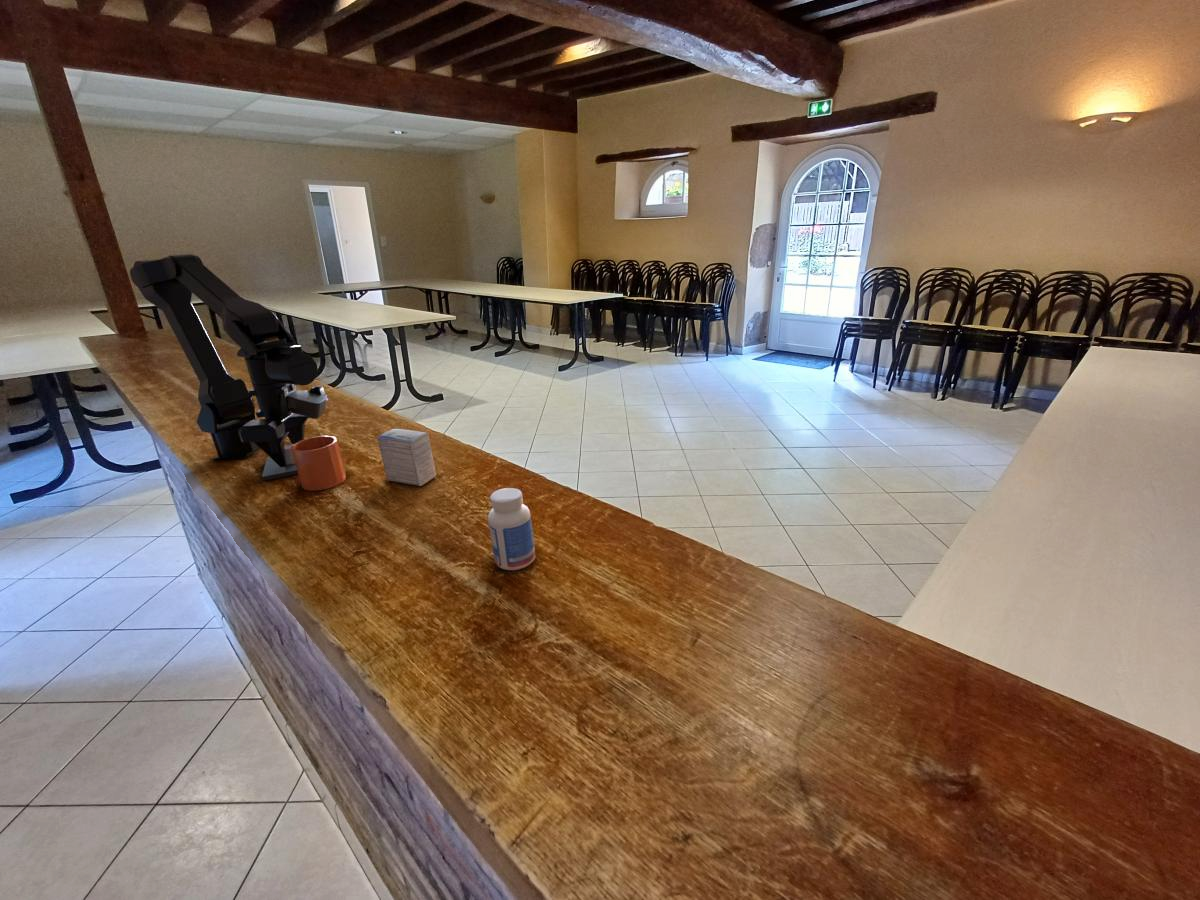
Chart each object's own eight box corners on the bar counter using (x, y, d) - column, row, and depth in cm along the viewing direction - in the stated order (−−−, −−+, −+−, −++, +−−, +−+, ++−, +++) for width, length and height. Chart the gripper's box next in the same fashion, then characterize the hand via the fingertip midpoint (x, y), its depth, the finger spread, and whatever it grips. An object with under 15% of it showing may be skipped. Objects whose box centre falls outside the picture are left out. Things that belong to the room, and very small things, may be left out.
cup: (295, 492, 96) (283, 453, 93) (311, 474, 103) (301, 437, 100) (338, 488, 97) (327, 449, 94) (351, 471, 103) (342, 434, 101)
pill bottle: (542, 551, 75) (535, 487, 71) (524, 574, 70) (516, 507, 67) (506, 546, 77) (498, 483, 73) (487, 568, 72) (476, 502, 68)
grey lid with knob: (262, 480, 101) (256, 461, 100) (267, 462, 110) (261, 443, 108) (322, 469, 105) (317, 449, 104) (322, 451, 114) (317, 433, 112)
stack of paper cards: (437, 477, 99) (429, 432, 96) (420, 487, 96) (411, 441, 92) (403, 471, 103) (394, 427, 99) (386, 481, 99) (376, 436, 95)
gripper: (293, 392, 93) (316, 475, 99) (333, 365, 110) (350, 438, 116) (225, 396, 92) (252, 480, 98) (275, 369, 109) (296, 442, 115)
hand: (292, 458), depth 107 cm, fingers open, 7 cm apart
